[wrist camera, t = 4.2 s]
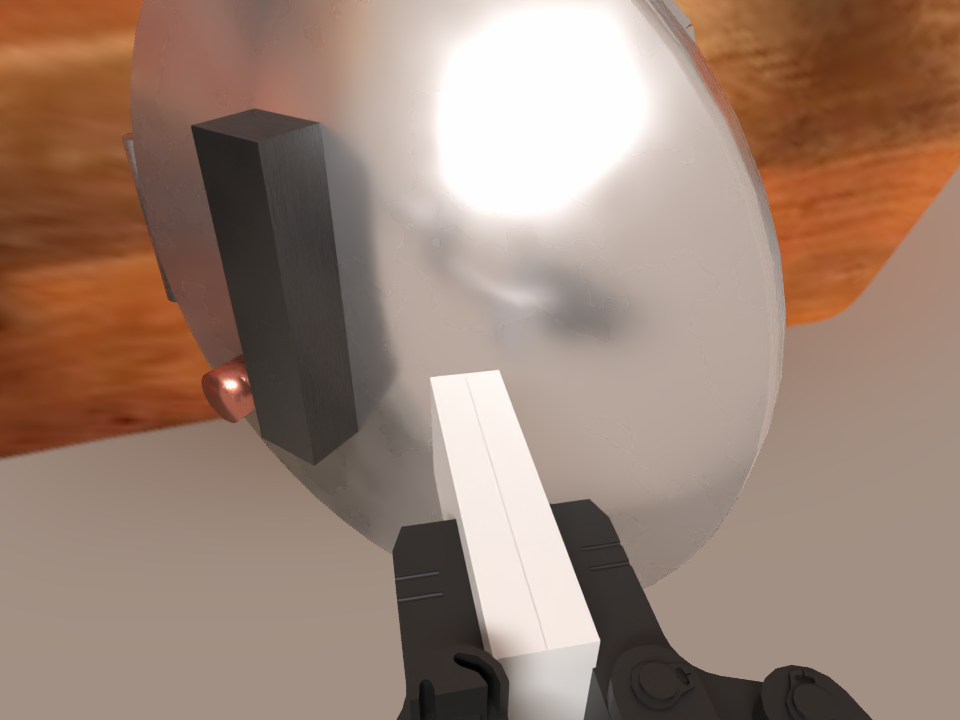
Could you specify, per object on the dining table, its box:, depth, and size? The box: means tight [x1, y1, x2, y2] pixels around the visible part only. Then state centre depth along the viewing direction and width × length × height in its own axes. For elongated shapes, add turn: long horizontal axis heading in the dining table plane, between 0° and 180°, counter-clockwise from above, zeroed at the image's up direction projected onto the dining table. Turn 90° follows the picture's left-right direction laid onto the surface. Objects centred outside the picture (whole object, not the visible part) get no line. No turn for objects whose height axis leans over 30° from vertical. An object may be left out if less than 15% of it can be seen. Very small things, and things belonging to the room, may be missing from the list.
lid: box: [122, 0, 786, 589], centre depth 19 cm, size 22×21×3 cm
